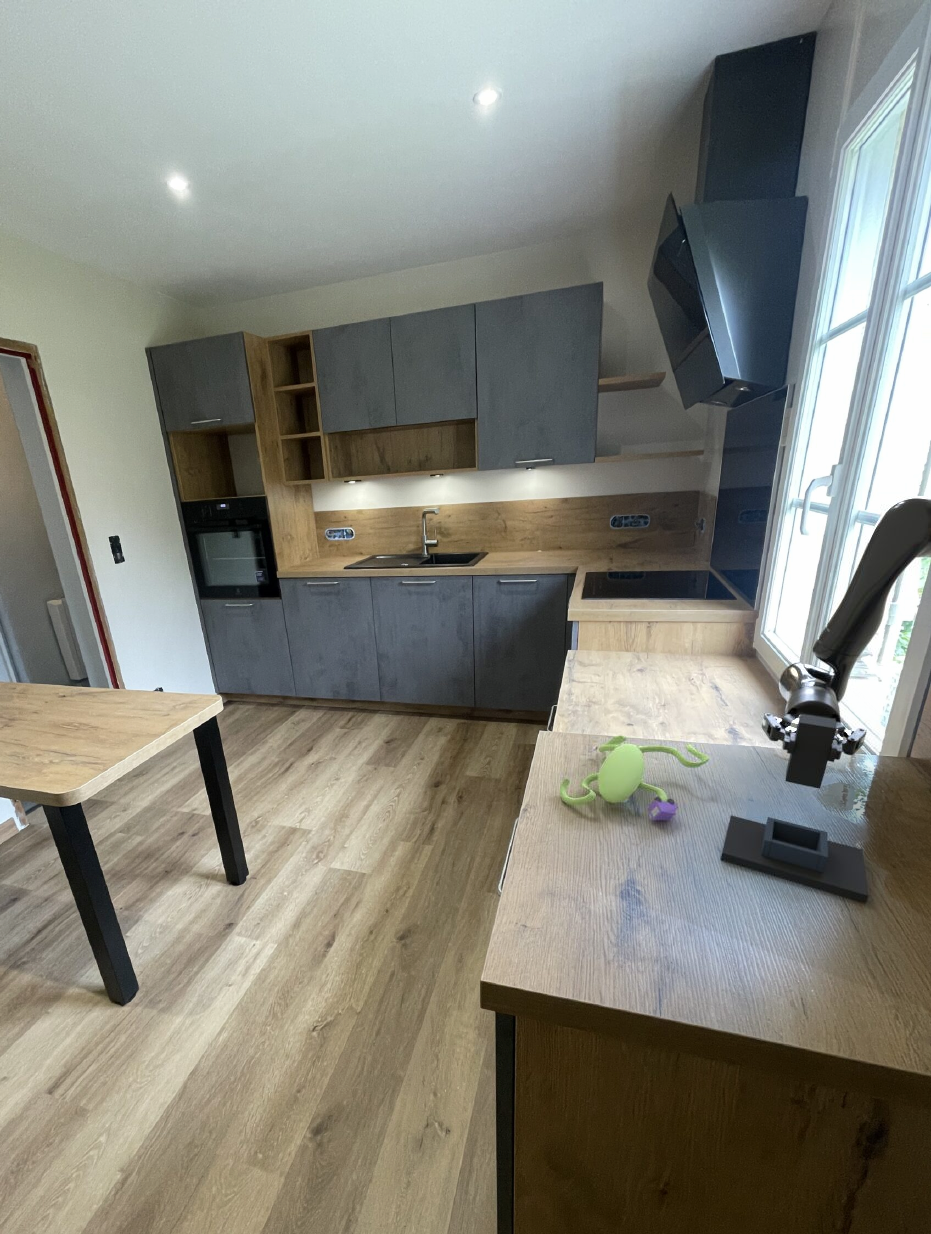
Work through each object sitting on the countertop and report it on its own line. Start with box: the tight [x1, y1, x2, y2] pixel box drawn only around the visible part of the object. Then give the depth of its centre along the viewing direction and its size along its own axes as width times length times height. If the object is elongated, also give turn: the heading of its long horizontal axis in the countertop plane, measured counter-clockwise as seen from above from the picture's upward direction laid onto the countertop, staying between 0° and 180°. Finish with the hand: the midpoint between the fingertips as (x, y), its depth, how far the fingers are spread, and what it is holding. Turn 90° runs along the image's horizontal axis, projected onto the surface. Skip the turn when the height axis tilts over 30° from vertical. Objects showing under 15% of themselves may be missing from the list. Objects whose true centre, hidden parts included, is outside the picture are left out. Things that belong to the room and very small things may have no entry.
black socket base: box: [720, 814, 869, 904], centre depth 76 cm, size 16×11×4 cm
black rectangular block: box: [784, 714, 836, 790], centre depth 84 cm, size 4×4×10 cm
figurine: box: [559, 734, 709, 822], centre depth 95 cm, size 18×27×6 cm
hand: (811, 751), depth 81 cm, fingers closed on black rectangular block, 4 cm apart
